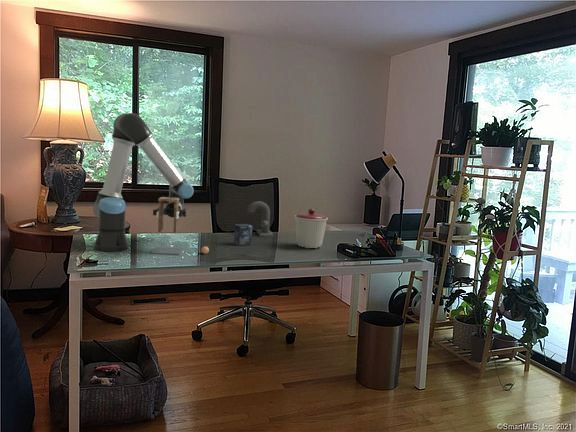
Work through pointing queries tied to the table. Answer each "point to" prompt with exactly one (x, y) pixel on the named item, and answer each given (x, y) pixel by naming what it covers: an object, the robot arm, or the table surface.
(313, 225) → the canister
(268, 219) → the faucet
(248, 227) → the box
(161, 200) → the wooden open frame
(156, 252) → the mat
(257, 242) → the table surface
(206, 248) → the ball
